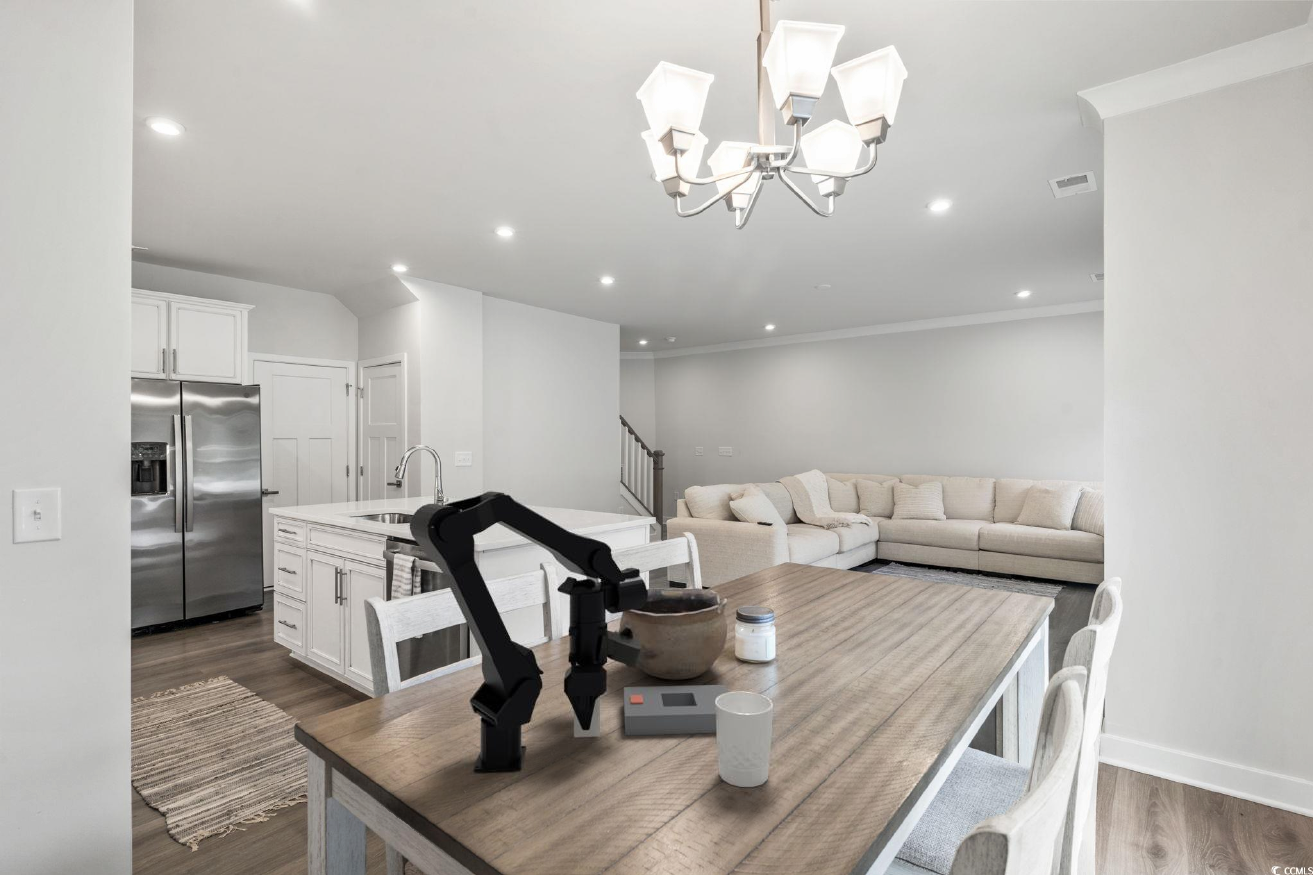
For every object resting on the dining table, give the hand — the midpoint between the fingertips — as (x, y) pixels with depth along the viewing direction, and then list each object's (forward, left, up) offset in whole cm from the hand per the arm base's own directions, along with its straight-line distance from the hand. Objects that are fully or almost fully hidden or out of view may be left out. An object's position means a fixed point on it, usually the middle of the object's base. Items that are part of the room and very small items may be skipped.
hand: (587, 716), depth 101 cm
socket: (+4, -15, -2) cm, 16 cm away
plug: (0, 0, -2) cm, 2 cm away
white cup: (-15, -22, -2) cm, 27 cm away
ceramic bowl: (+25, -16, -2) cm, 30 cm away
